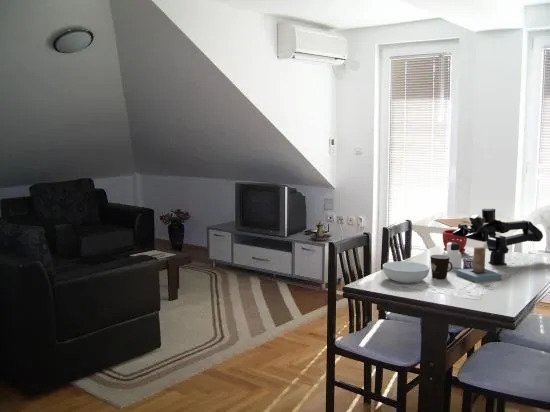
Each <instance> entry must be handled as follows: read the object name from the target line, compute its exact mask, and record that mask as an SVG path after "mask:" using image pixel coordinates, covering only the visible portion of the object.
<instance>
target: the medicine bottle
mask: <svg viewBox="0 0 550 412" xmlns="http://www.w3.org/2000/svg"><path fill="white" fill-rule="evenodd" d="M443 251H444V250H443ZM462 254H463V253H462ZM462 254H461V253H460V252H459V244H458V243H455V242H449V243H447V251H444V253H443V255H446V256H449V257H450V258H449V262H451V263H452V269H457V268H458V269H460V268H462ZM449 268H450V269H451V264H450V263H449V265H448V269H449Z"/></svg>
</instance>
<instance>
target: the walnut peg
mask: <svg viewBox="0 0 550 412" xmlns="http://www.w3.org/2000/svg"><path fill="white" fill-rule="evenodd" d="M486 249H487V248H486V247H483V246H474V247H473V265H472V268H473V273H476V274H483V273H484V271H485V269H486V268H485V267H486Z"/></svg>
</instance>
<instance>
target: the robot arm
mask: <svg viewBox="0 0 550 412" xmlns="http://www.w3.org/2000/svg"><path fill="white" fill-rule="evenodd" d="M468 220H469V221H470V223H471V224H470V225H469V227H468V225H467V224H464V223H459V224H458V225H457V228H458V229H455V230H456V231H455V232H453V235H456V236H460V237H466V238H467V240H468V239H469V240H473V241H478V242H483V243H486V246H487V250H488V251H489V252H490V256H489V261H488V263H489V264H492V265H495V266H503V265H508V263H506V262H505V260H506V254H508V253H509V250H510V249H509V247H508V246H512V245H516V244H521V243H525V242H542V239H543V238H544V235H543V232H542V230H540V229H539V228H538V227H537V226H535V225H534V223H533V222H531V221H529V220H518V221H506V222H505V221H501V220H499V219H496V208H481V215H478V214H472V215H471V216H470V217H469V219H468ZM513 230H514V231H515V230H517V231H518V230H522V233H518V234H514V235H508V236H504V235H500V234H506V233H508V232H510V231H513ZM497 233H498V234H497Z"/></svg>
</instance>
